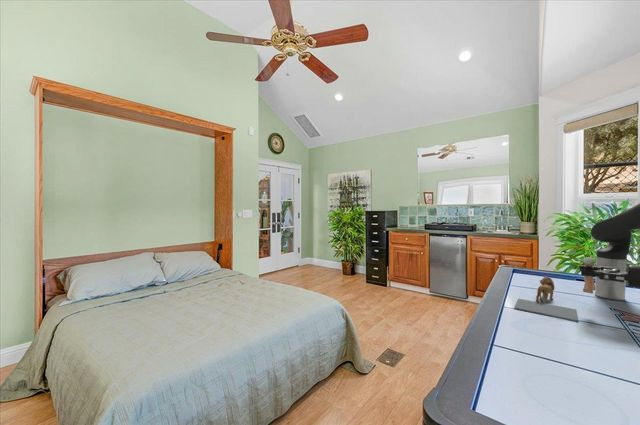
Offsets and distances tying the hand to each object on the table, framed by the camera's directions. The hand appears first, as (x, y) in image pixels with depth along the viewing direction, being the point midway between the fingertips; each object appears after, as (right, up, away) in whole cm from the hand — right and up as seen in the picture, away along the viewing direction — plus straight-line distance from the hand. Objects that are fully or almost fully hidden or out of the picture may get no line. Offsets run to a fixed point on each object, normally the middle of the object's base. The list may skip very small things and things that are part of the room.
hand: (580, 270), depth 104 cm
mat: (-12, -15, +2) cm, 19 cm away
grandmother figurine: (+2, -8, -1) cm, 8 cm away
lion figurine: (-3, -16, +14) cm, 21 cm away
